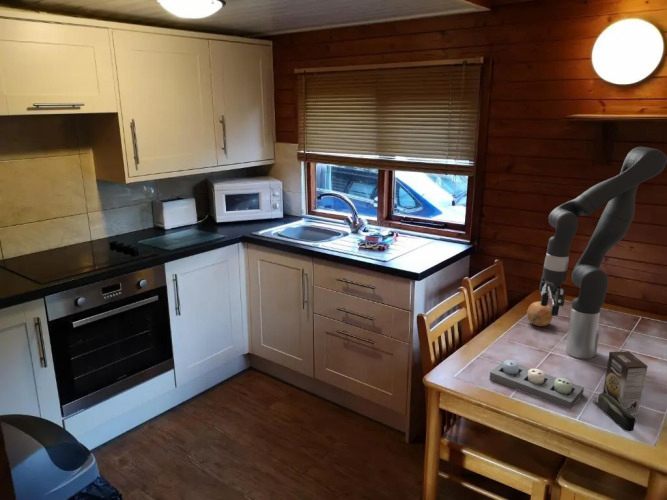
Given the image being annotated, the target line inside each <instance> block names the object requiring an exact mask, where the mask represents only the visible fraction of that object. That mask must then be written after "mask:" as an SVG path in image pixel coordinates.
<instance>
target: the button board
mask: <svg viewBox="0 0 667 500" xmlns="http://www.w3.org/2000/svg"><path fill="white" fill-rule="evenodd" d="M506 360H507V359H504V360H503V361H502V362H501V363H499V364H498V365H497V366H495V367H494V369H492V370H491V371H490V372H489V373H490V374H489V380H491V381H495V382H497V383H500V384H502V385H504V386H506V387H510V388H513V389H516V390H517V391H520V392H523V393H525V394H528V395H531V396H534V397H537V398H539V399H542V400H544V401H546V402H549V403H552V404H555V405H557V406H559V407H562V408H566V409H567V410H571V409H572V408H573V406H575V404H577V402H578V401H579V400H580V399H581V397H582V396H583V395H584V390H585V386H581V385H579V384H575V383H573V382H572V391H571V394H569V395H563V394H560V393H558V392H555V391H554V383H555V379H557V378H558V377H556V376H553V375H550V374H547V373H545V378H544V383H543V384H542V385H536V384H533V383H530V382H528V380H527V378H528V370H530V369H531V368H530V367H526V366H524V365H521V364H519V372H518V375H515V376H511V375H508V374H506V373H503V362H504V361H506Z"/></svg>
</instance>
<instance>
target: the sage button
mask: <svg viewBox="0 0 667 500" xmlns="http://www.w3.org/2000/svg"><path fill="white" fill-rule="evenodd" d="M556 378H557V379H555V383H554V391H555V392H558V393H560V394H563V395H566V396H570V395H571V391H572V383H573V382H572V381H571V380H570V379H567V378H564V377H556Z"/></svg>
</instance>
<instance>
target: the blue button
mask: <svg viewBox="0 0 667 500" xmlns="http://www.w3.org/2000/svg"><path fill="white" fill-rule="evenodd" d="M505 360H506V361H504V360H503V361H504V362H503V361H502V362H503V373H506V374H508V375H511V376H514V377H516V376H517V375H518V372H519V365H520V363H519V362H517V360H511V359H505Z"/></svg>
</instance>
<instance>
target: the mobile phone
mask: <svg viewBox="0 0 667 500" xmlns="http://www.w3.org/2000/svg"><path fill="white" fill-rule="evenodd" d="M592 402H593V403H594V404H595V405H596V406H597V407H598V408H600V409H601V410H602V411H603V412H604V413H605V414H606V415H607V416H608V417H609V418H610V419H611V420H612V421H613V422H614V423H615V424H616V425H618V426H619V428H621V429H622V430H623V431H626V432H634V430H635V424H636V419H637V418H636V417H635V416H634V415H633V414H630V413H629V412H628V411H627V410H626V409H625V408H623V407H622V406H621V405H620V404H619V403H618V402H617V401H616V400H615V399H614V398H613V397H612V396H610V395H608V394H606V393H603V392H600V393H599V394H598V396H597V401H596V400H592Z"/></svg>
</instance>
